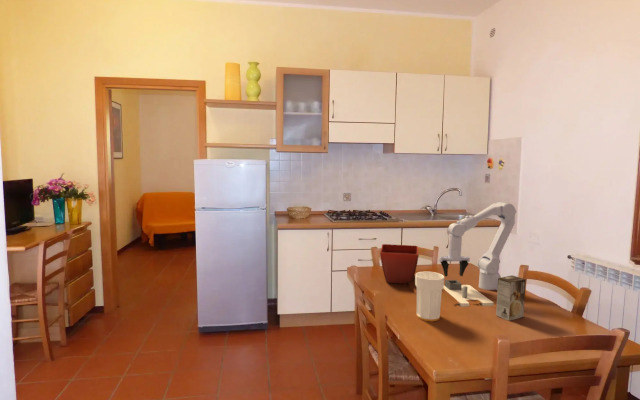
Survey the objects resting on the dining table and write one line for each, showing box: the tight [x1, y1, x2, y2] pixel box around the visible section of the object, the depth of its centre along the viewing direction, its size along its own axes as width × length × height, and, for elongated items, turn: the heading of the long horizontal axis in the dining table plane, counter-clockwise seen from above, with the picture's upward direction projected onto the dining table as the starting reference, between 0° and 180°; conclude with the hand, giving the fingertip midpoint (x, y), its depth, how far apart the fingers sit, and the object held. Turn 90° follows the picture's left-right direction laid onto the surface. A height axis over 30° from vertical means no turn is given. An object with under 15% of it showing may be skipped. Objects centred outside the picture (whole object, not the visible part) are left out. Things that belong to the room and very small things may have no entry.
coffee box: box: [495, 275, 527, 322], centre depth 160 cm, size 9×6×16 cm
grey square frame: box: [444, 279, 463, 290], centre depth 190 cm, size 6×6×3 cm
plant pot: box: [379, 243, 420, 285], centre depth 206 cm, size 19×19×17 cm
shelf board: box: [442, 284, 495, 308], centre depth 182 cm, size 15×24×6 cm, turn 4°
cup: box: [414, 270, 445, 322], centre depth 158 cm, size 11×11×17 cm
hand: (453, 275), depth 190 cm, fingers open, 7 cm apart
